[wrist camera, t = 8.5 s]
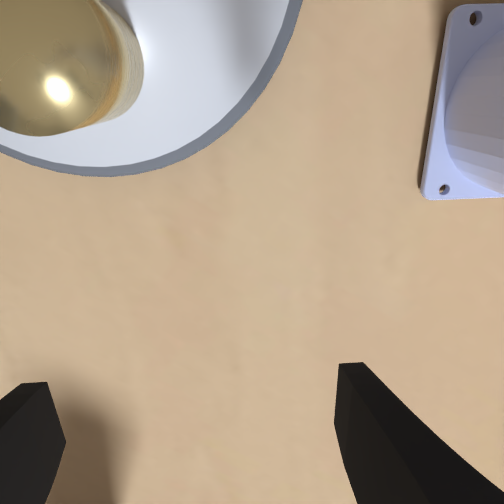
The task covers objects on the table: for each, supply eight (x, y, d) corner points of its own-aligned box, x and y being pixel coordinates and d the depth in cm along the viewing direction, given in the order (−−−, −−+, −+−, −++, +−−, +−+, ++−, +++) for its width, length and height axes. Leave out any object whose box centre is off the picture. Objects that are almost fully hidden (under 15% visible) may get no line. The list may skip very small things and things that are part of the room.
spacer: (129, -12, 12) (79, -61, 8) (154, 116, 14) (123, 127, 10) (9, 2, 12) (-102, -41, 8) (48, 128, 14) (-28, 144, 10)
